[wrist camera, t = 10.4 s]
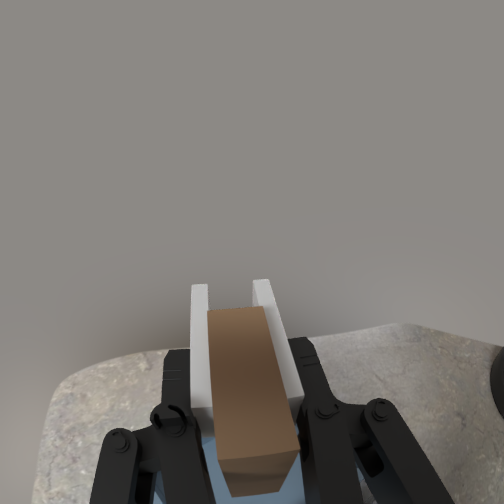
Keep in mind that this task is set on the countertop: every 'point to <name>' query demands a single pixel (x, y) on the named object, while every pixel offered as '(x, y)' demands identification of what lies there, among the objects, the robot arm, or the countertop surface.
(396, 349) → the countertop surface
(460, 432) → the countertop surface
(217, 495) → the tray
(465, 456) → the countertop surface
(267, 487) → the key
